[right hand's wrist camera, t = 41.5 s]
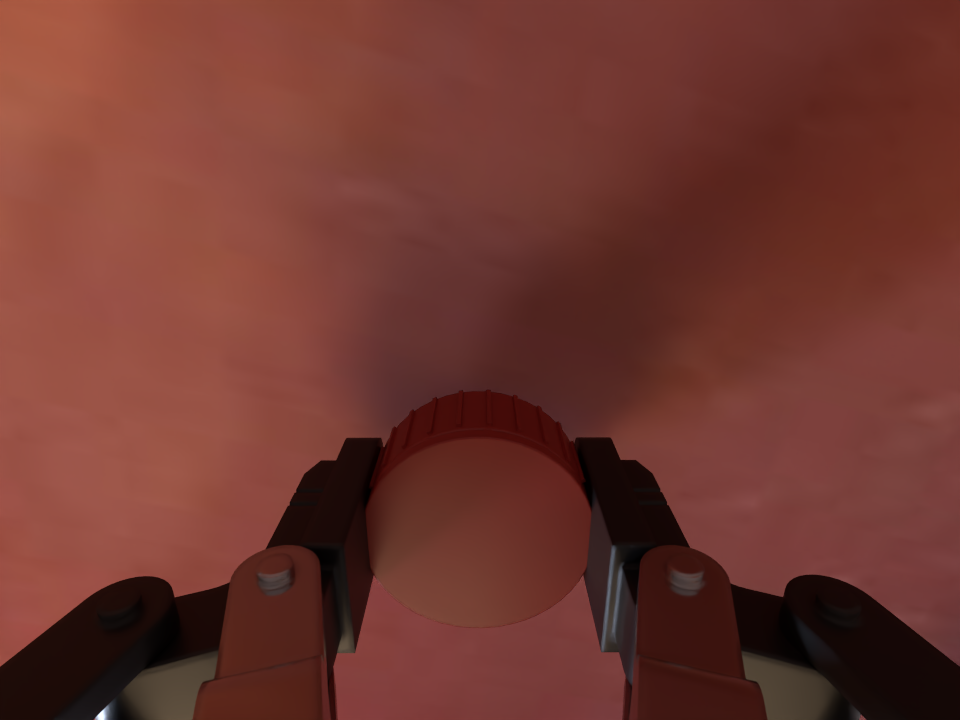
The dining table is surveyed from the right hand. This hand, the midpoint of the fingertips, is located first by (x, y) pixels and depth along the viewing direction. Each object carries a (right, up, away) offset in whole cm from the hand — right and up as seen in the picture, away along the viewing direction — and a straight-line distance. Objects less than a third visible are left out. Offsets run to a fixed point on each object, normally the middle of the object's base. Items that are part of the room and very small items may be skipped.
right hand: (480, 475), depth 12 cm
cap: (0, -1, -2) cm, 2 cm away
